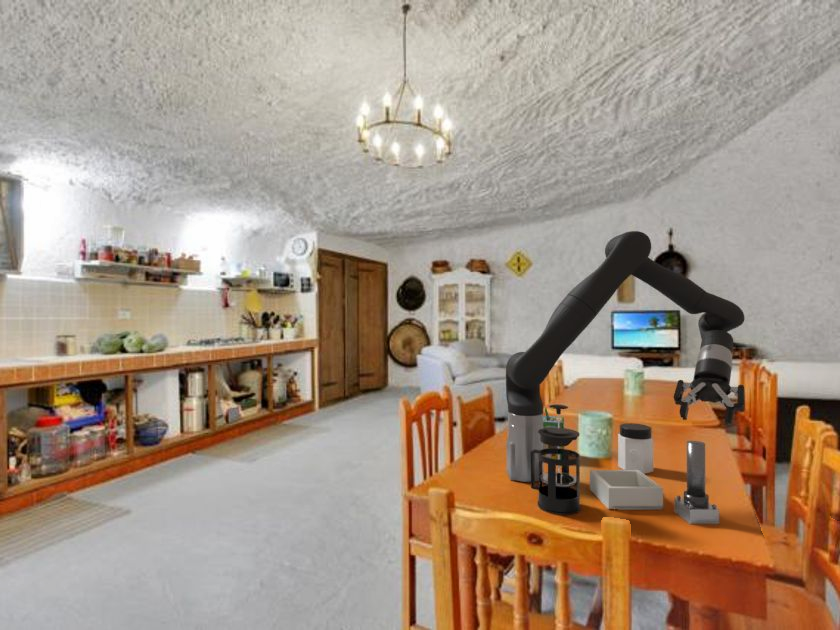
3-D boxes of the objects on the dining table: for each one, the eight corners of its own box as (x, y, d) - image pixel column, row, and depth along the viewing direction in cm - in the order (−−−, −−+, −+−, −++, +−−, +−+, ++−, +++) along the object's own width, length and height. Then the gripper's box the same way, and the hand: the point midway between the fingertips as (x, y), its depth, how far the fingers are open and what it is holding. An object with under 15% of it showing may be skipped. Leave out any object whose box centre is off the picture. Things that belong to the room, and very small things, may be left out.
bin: (608, 509, 103) (608, 488, 103) (589, 489, 115) (589, 470, 115) (663, 509, 103) (662, 488, 103) (638, 489, 115) (638, 470, 115)
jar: (616, 470, 129) (616, 427, 129) (619, 462, 136) (619, 421, 136) (652, 476, 124) (652, 431, 124) (654, 467, 131) (654, 425, 131)
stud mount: (689, 523, 96) (689, 505, 96) (674, 511, 102) (674, 494, 102) (719, 523, 96) (719, 505, 96) (701, 511, 102) (701, 494, 102)
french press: (589, 505, 106) (588, 404, 106) (576, 520, 98) (575, 411, 98) (539, 493, 113) (539, 399, 113) (523, 506, 105) (523, 405, 105)
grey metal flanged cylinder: (691, 508, 97) (691, 445, 97) (679, 499, 102) (679, 439, 101) (713, 508, 97) (713, 445, 97) (700, 499, 101) (700, 439, 101)
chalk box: (564, 462, 137) (564, 412, 137) (532, 459, 140) (532, 410, 140) (565, 453, 145) (564, 406, 145) (535, 450, 148) (534, 404, 148)
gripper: (679, 355, 119) (668, 407, 110) (746, 358, 109) (740, 415, 101) (683, 374, 123) (673, 425, 114) (749, 378, 113) (743, 435, 105)
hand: (705, 420), depth 107 cm, fingers open, 8 cm apart
